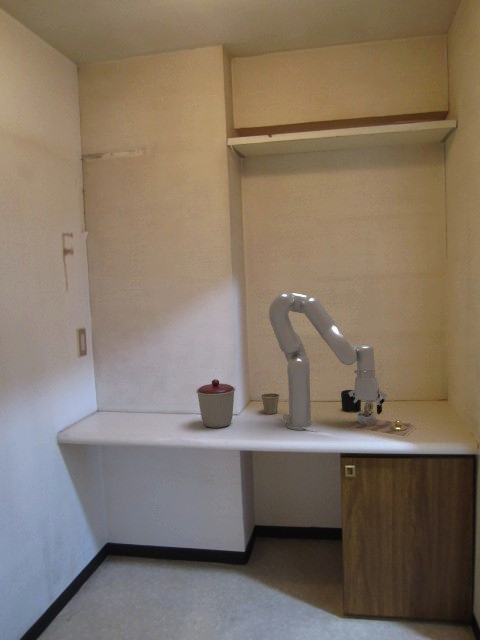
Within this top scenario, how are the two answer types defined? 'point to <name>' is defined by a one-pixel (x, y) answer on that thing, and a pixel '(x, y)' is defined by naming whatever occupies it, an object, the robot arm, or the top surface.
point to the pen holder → (348, 402)
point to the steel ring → (366, 419)
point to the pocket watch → (368, 406)
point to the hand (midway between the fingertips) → (368, 412)
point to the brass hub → (398, 426)
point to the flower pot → (270, 402)
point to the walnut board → (384, 427)
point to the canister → (216, 404)
